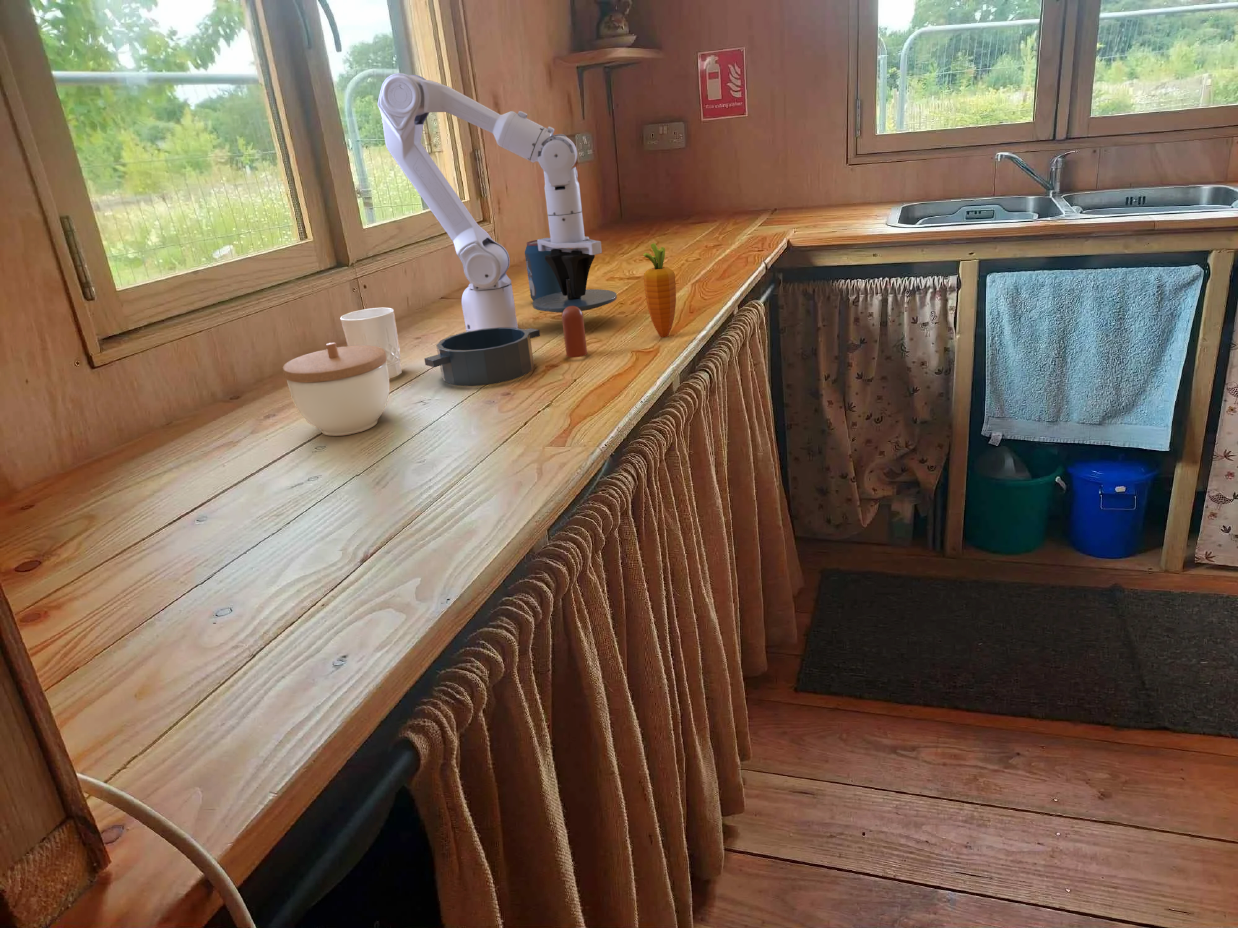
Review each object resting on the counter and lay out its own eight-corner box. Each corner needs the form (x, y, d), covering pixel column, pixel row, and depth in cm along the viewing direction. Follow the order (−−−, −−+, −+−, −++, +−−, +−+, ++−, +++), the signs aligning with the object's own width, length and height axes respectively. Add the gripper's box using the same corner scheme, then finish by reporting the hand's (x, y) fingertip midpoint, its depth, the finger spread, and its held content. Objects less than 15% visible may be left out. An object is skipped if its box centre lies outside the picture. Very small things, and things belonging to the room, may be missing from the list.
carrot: (677, 343, 136) (670, 245, 130) (646, 344, 137) (637, 247, 131) (681, 335, 140) (675, 240, 135) (651, 336, 141) (643, 242, 136)
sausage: (562, 358, 134) (556, 307, 131) (578, 353, 136) (572, 303, 133) (575, 361, 132) (569, 309, 129) (591, 356, 134) (586, 304, 131)
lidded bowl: (307, 452, 105) (285, 364, 101) (292, 425, 116) (272, 344, 112) (409, 427, 110) (392, 342, 106) (386, 403, 121) (369, 325, 117)
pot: (410, 384, 129) (403, 348, 127) (513, 353, 140) (508, 319, 138) (460, 399, 119) (453, 361, 117) (566, 365, 131) (561, 329, 128)
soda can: (572, 298, 177) (565, 238, 173) (552, 306, 172) (544, 244, 167) (545, 297, 181) (537, 238, 176) (524, 305, 176) (516, 244, 171)
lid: (516, 310, 150) (512, 283, 148) (580, 293, 159) (577, 267, 157) (569, 318, 140) (566, 289, 138) (634, 300, 149) (632, 272, 147)
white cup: (416, 370, 136) (404, 307, 132) (384, 386, 129) (370, 320, 126) (376, 369, 139) (363, 307, 135) (343, 384, 133) (328, 319, 129)
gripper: (612, 210, 141) (620, 294, 146) (556, 209, 151) (565, 287, 156) (578, 217, 137) (588, 302, 142) (523, 215, 147) (534, 295, 152)
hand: (574, 295), depth 149 cm, fingers closed on lid, 2 cm apart
